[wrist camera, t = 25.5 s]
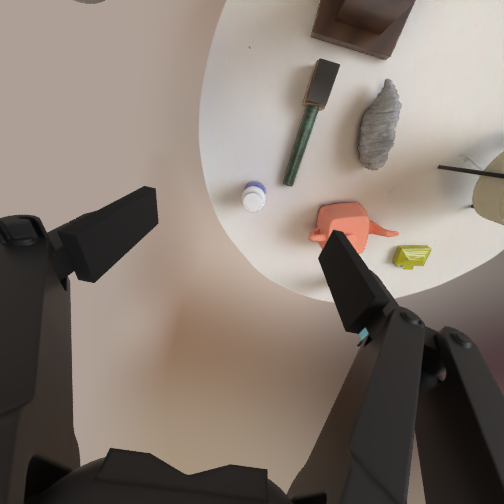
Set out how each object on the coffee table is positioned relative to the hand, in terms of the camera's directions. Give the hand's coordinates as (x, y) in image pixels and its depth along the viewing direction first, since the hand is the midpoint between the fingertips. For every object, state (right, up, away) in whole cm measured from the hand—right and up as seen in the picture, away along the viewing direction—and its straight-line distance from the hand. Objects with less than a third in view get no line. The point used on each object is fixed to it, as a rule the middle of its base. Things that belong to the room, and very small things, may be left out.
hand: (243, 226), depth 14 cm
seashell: (+25, +23, +25) cm, 42 cm away
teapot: (+23, +6, +35) cm, 42 cm away
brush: (+12, +23, +26) cm, 36 cm away
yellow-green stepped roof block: (+44, -3, +38) cm, 58 cm away
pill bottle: (+1, +13, +33) cm, 35 cm away
